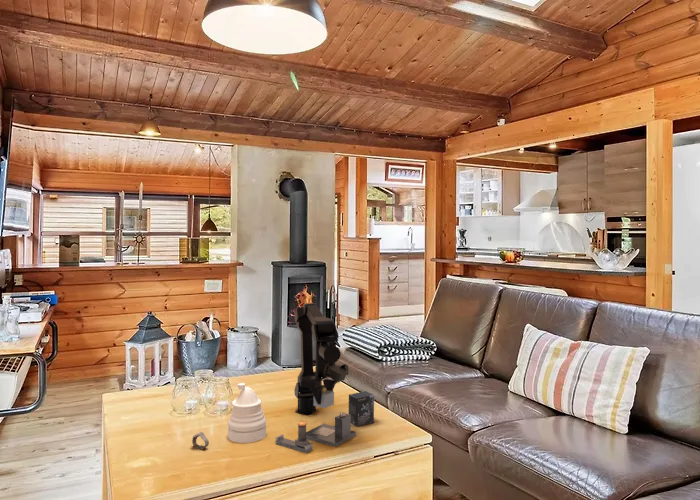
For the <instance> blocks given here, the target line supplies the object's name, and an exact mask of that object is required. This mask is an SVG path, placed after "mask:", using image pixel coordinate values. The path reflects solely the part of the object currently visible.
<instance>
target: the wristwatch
mask: <svg viewBox="0 0 700 500" xmlns="http://www.w3.org/2000/svg"><path fill="white" fill-rule="evenodd" d="M198 437H200V438H201V439H202V440H203V442H204V445H199V444H198V443H197V440H198ZM191 441H192V445H193V448H195V449H199V450H205V449H207V447H208V446H209V443H210V442H209V439H208V437H206V435H205V433H204V432H202V431H200V432H198V433H196V434H194V435H193V436H192V440H191Z"/></svg>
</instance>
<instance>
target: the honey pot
mask: <svg viewBox="0 0 700 500" xmlns="http://www.w3.org/2000/svg"><path fill="white" fill-rule="evenodd" d="M237 388H238V389H239V390H240V392H239V394H238V395H237V396H236V398H235V399H234V400H232V401H231V406H232V410H231V411H230V415H229V419H228V422H227V439H228V440H230V442H232V443H238V444H248V443H255V442H259V441H261V440H263V439H265V437H266V436H267V419H266V417H265V413H264V409H263V407H262V400H261V399H260V398H259V397H258V395H257V393H256V392H255V391H254V390H253V389H252V388H251V387H249V386H246V383H244V382H240V383H238V384H237Z"/></svg>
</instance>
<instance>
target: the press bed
mask: <svg viewBox="0 0 700 500" xmlns="http://www.w3.org/2000/svg"><path fill="white" fill-rule="evenodd" d="M351 426H352V424H351V415H350V414H349V413H346V412H343V411H342V412H340V413H339V414H338V415H336V416H335V417H334V425H331V424H327V423H322V424H320V425H317V426H316V427H314V428H311V429H310V430H307V431H306V439H308V440H309V441H312V442H316V443H320V444H324V445H327V446H329V447H333V448H337V447H339V446H340V445H342V444H345V442H347V441H350V440H351V439H353V438H354V437H356V436H357V431H354V430H352V429H351Z"/></svg>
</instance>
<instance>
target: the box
mask: <svg viewBox="0 0 700 500" xmlns="http://www.w3.org/2000/svg"><path fill="white" fill-rule="evenodd" d="M348 414H350V415H351V426H354V427H355V428H357V427H361V426H366V425H369V424H370V425H371V424H374V423H375V421H374V420H375V395H374V394H373V393H372V392H368V391H366V390H365V391H359V392H355V393H354V392H353V393H350V394H348Z"/></svg>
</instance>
